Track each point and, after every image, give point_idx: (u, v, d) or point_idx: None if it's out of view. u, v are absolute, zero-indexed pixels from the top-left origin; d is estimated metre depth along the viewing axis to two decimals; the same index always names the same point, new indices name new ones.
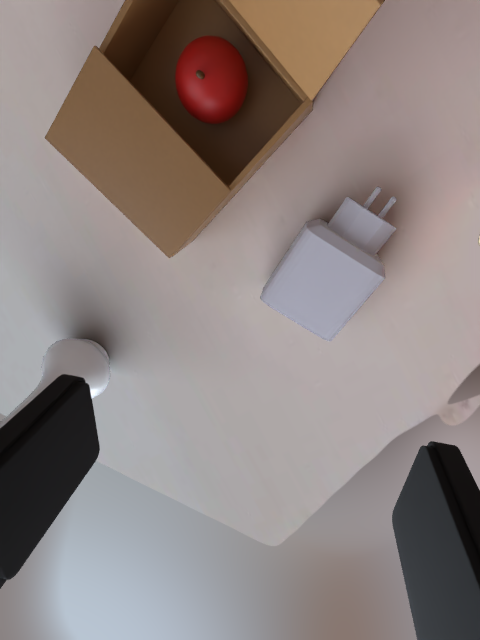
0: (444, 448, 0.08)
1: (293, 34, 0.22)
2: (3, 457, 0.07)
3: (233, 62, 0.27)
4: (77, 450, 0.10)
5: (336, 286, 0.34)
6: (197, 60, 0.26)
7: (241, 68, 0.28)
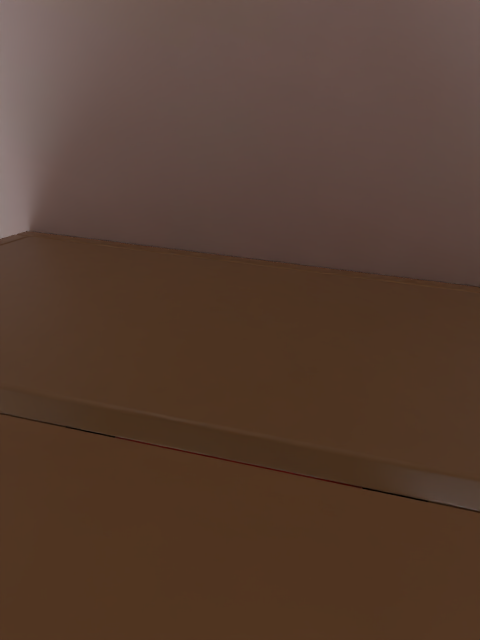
0: None
1: None
2: None
3: None
4: None
5: None
6: None
7: None
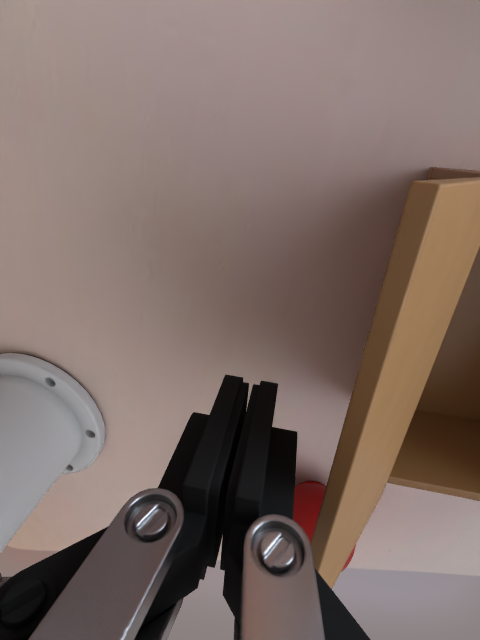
0: (265, 384, 0.10)
1: (448, 301, 0.10)
2: (222, 453, 0.08)
3: None
4: None
5: None
6: None
7: None
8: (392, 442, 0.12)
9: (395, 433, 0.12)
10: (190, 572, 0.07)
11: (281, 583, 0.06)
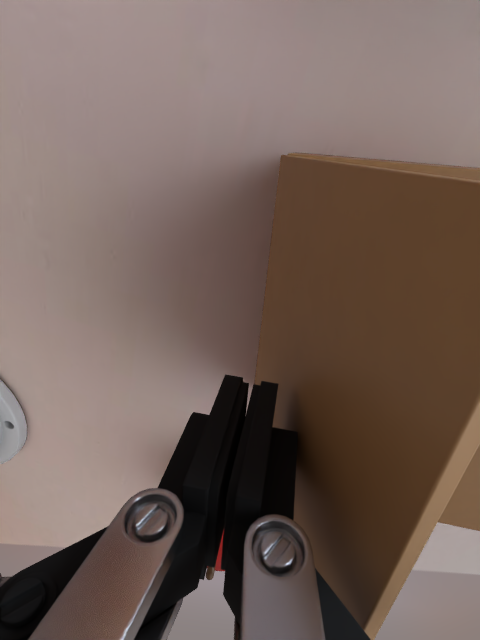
0: (266, 384, 0.10)
1: None
2: (222, 452, 0.08)
3: None
4: None
5: None
6: None
7: None
8: None
9: None
10: (190, 572, 0.07)
11: (281, 583, 0.06)
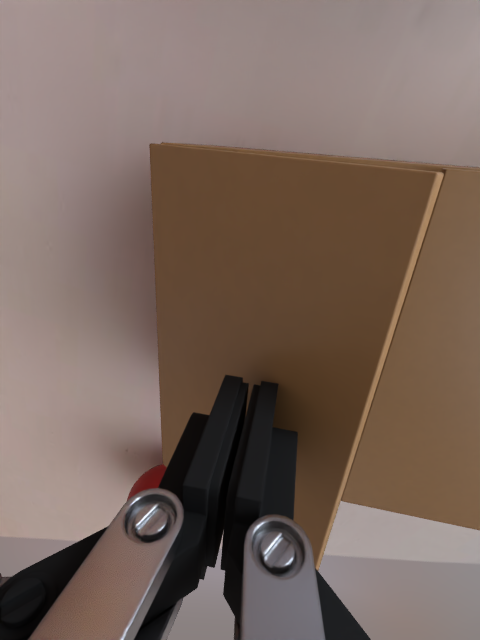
0: (266, 384, 0.10)
1: None
2: (222, 453, 0.08)
3: None
4: None
5: None
6: None
7: None
8: None
9: None
10: (190, 572, 0.07)
11: (282, 583, 0.06)
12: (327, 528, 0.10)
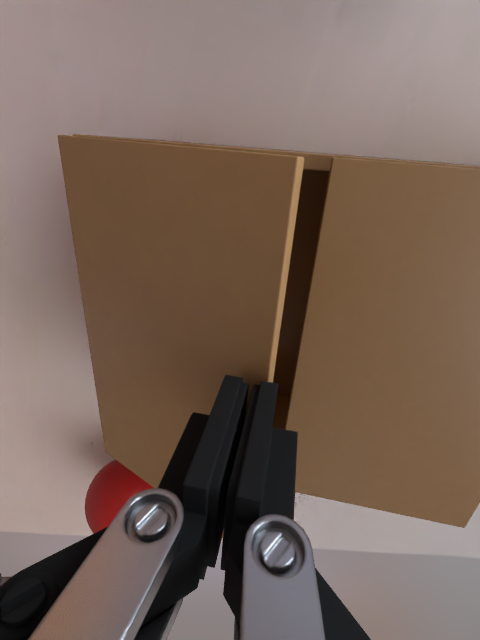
0: (266, 384, 0.10)
1: None
2: (222, 452, 0.08)
3: (85, 505, 0.25)
4: None
5: None
6: None
7: (88, 491, 0.25)
8: None
9: None
10: (190, 572, 0.07)
11: (282, 583, 0.06)
12: None
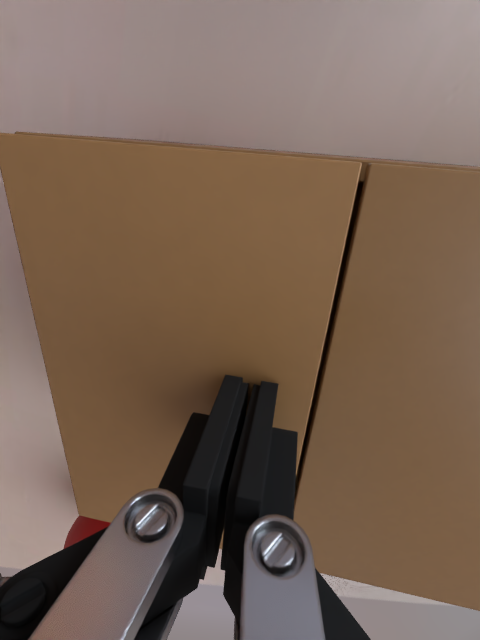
0: (266, 384, 0.10)
1: None
2: (222, 452, 0.08)
3: None
4: None
5: None
6: None
7: (67, 539, 0.22)
8: None
9: None
10: (190, 572, 0.07)
11: (281, 583, 0.06)
12: None
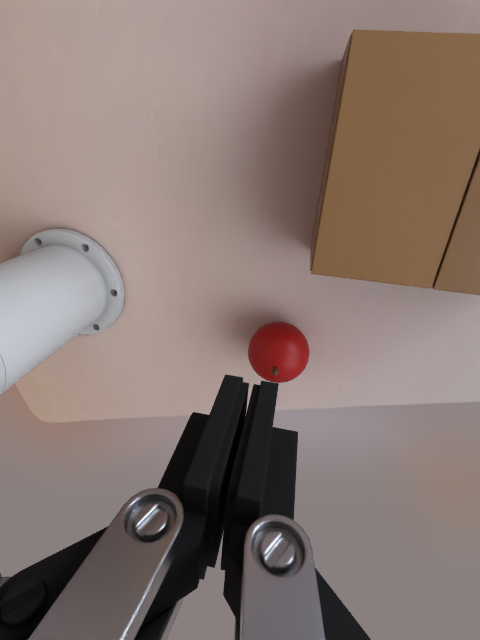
0: (265, 384, 0.10)
1: None
2: (222, 453, 0.08)
3: (254, 349, 0.33)
4: None
5: None
6: (269, 375, 0.33)
7: (254, 340, 0.34)
8: None
9: None
10: (190, 572, 0.07)
11: (281, 583, 0.06)
12: (453, 221, 0.23)
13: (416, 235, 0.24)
